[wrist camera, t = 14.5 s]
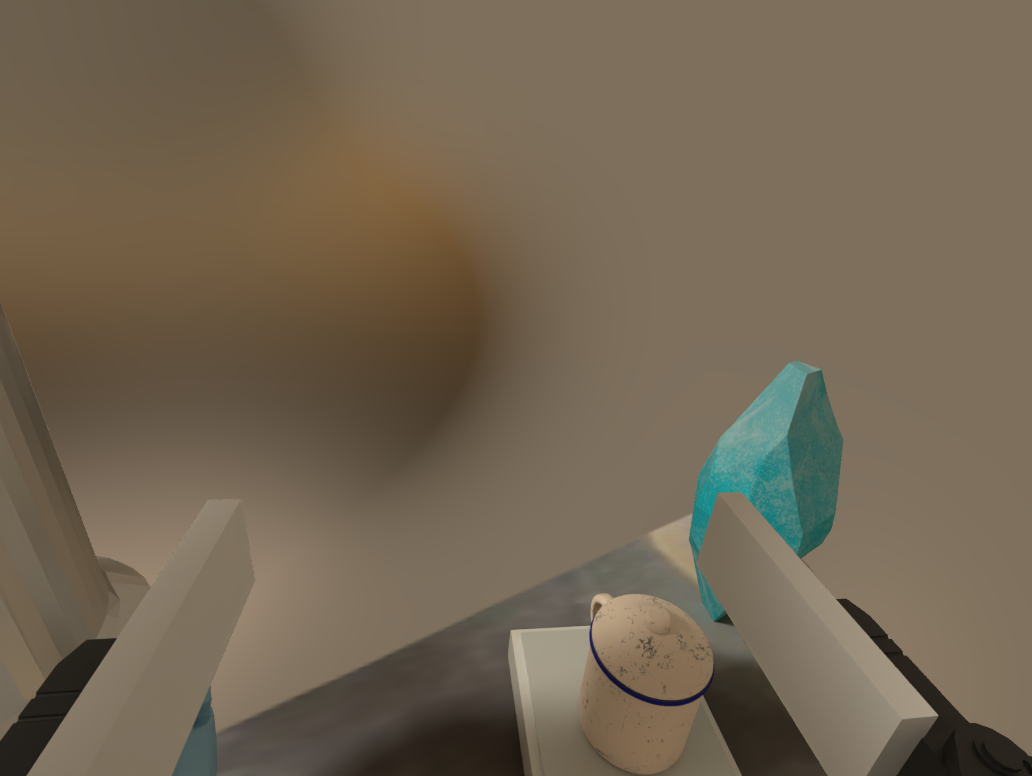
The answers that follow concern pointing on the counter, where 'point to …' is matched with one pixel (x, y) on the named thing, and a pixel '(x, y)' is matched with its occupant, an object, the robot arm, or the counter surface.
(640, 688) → the teacup with lid
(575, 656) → the plinth
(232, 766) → the counter surface
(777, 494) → the crystal
